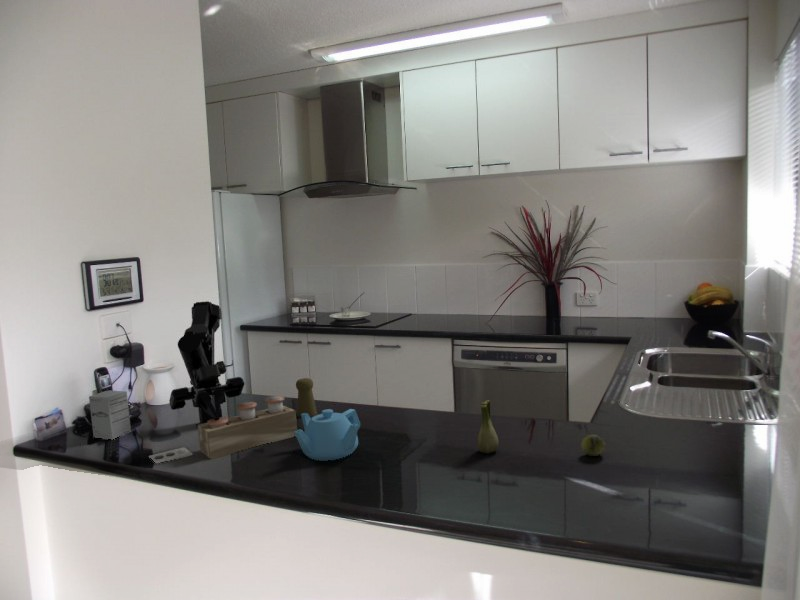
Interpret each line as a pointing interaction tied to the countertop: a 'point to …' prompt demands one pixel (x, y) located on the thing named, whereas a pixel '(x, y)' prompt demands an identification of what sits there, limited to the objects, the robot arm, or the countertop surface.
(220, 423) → the button
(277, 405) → the button
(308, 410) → the cork
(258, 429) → the button box
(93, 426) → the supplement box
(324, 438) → the teapot
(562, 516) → the countertop surface
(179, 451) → the pattern card
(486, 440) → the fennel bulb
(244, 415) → the middle button
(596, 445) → the lime
